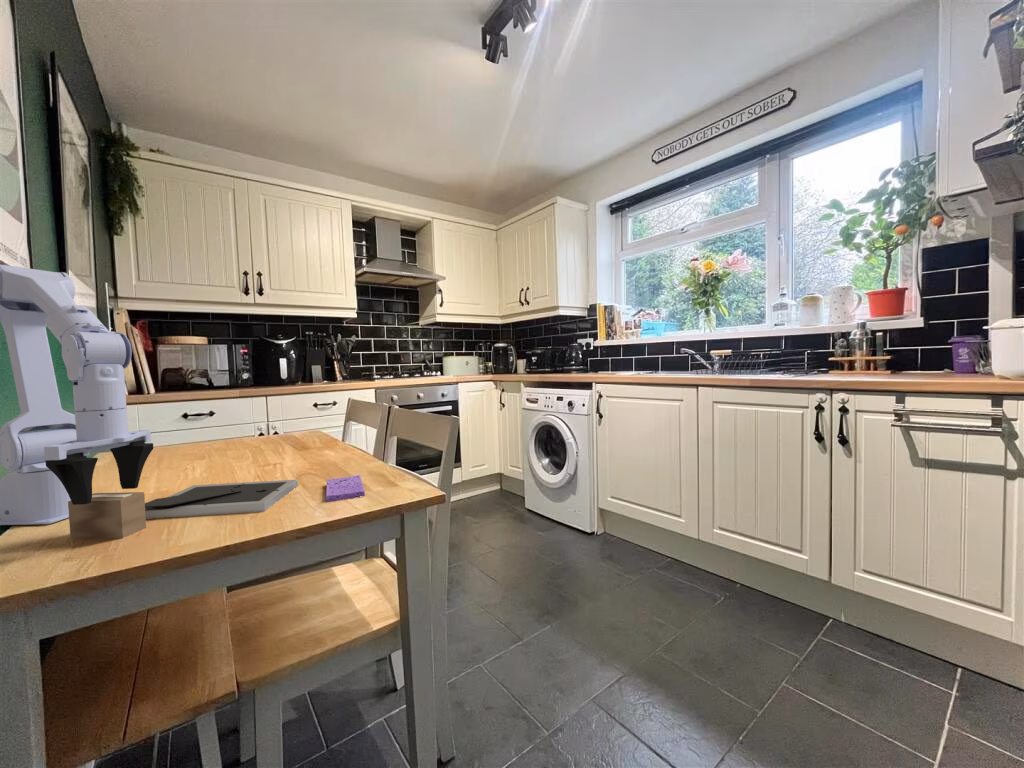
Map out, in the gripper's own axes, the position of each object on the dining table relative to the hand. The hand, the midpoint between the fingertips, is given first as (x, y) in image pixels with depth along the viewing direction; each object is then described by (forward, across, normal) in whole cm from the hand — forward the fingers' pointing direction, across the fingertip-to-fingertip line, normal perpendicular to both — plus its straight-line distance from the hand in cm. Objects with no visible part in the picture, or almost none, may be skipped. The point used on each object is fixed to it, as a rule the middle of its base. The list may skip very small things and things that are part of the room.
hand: (107, 495), depth 64 cm
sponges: (+7, +20, -29) cm, 36 cm away
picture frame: (+7, +15, -8) cm, 18 cm away
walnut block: (+6, 0, 0) cm, 6 cm away
